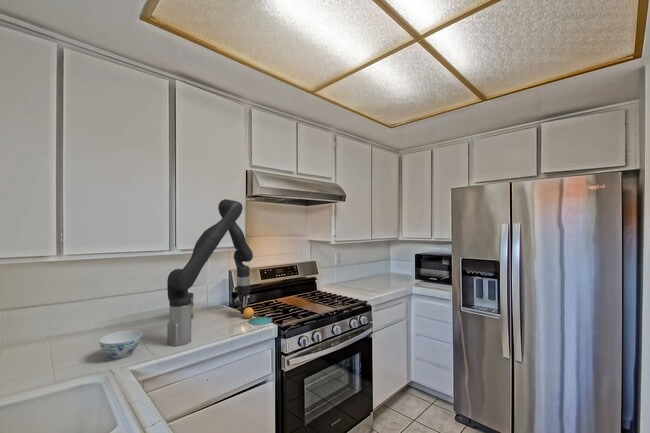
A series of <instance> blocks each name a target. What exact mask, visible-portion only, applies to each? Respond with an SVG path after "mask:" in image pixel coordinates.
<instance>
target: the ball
mask: <svg viewBox="0 0 650 433" xmlns="http://www.w3.org/2000/svg"><path fill="white" fill-rule="evenodd" d="M254 314H255V311H254V309H253V308H252V307H246V309H245V310H244V312H243V314H242V315H243V316H244V318H245V319H252V318H253V317H254Z"/></svg>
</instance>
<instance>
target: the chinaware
mask: <svg viewBox="0 0 650 433" xmlns="http://www.w3.org/2000/svg"><path fill="white" fill-rule="evenodd" d="M142 337H143V332H142V331H141V330H137V329H136V330H135V329H131V330H130V329H128V330H122V331H116V332H112V333H109V334H105V335H104V336H102V337H101V338H99V340H98V342H99V346H100V348H101V350H102V351H103V352H104V353H105V354H106V355H109V356H111V358H112V359H122V358H127V357H128V356H130V355H131V354H132V352H133V351H135V349H137V347H138V345H139V344H140V342H141V341H142Z"/></svg>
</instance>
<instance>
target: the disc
mask: <svg viewBox="0 0 650 433" xmlns="http://www.w3.org/2000/svg"><path fill="white" fill-rule="evenodd" d="M272 322H273V319H272V317H267V316H257V317H251V318H249V320H248V323H249V324H250V325H254V326H259V325H260V326H261V325H267V324H268V325H269V324H270V323H272Z"/></svg>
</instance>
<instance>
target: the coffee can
mask: <svg viewBox="0 0 650 433" xmlns="http://www.w3.org/2000/svg"><path fill="white" fill-rule="evenodd" d="M188 293H189V295H190V297H191V319H192V320H193V319H194V296H195V294H194V293H193V292H188Z"/></svg>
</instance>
